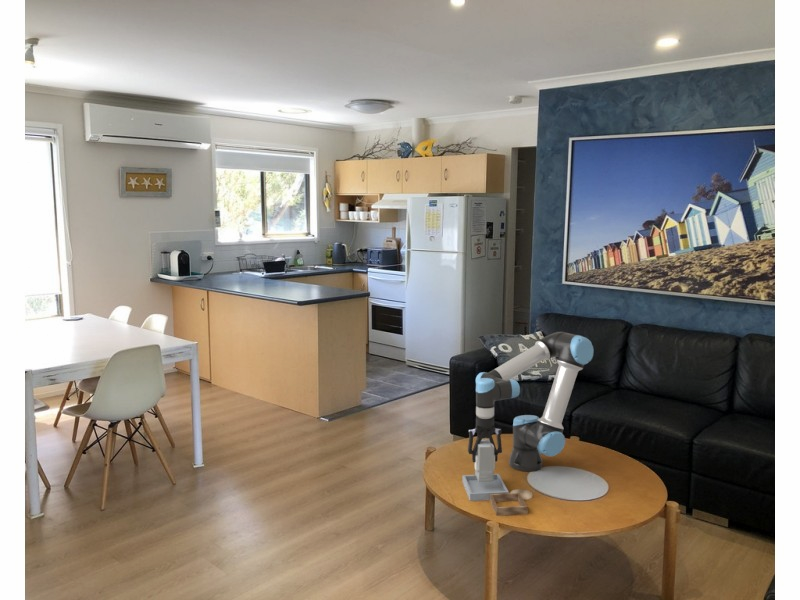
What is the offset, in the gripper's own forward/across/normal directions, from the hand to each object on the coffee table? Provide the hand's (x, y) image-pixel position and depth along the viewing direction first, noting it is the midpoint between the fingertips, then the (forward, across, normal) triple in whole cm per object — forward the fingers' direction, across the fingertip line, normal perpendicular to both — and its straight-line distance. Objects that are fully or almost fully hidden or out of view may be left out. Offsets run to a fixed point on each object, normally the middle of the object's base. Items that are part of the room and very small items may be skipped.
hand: (484, 468), depth 255 cm
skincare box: (+4, 0, 0) cm, 4 cm away
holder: (+9, -6, +16) cm, 19 cm away
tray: (+9, 0, 0) cm, 9 cm away
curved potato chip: (+9, -14, +6) cm, 18 cm away
